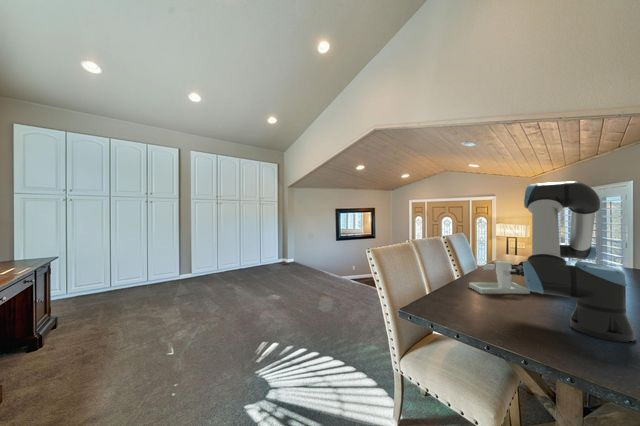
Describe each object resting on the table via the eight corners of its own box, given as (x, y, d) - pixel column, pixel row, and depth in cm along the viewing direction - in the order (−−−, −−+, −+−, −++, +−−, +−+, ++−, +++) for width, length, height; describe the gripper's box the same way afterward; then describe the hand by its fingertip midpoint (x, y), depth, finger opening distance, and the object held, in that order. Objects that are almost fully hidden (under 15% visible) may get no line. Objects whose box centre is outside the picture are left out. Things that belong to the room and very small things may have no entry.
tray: (482, 294, 129) (482, 289, 129) (469, 287, 141) (468, 282, 141) (530, 293, 128) (529, 288, 128) (512, 286, 140) (512, 282, 140)
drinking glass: (505, 292, 128) (503, 263, 128) (493, 289, 135) (492, 261, 135) (516, 291, 129) (514, 262, 130) (504, 288, 136) (502, 260, 136)
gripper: (553, 281, 124) (513, 283, 122) (510, 270, 148) (476, 271, 147) (553, 266, 124) (512, 267, 122) (510, 257, 148) (476, 258, 147)
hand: (493, 269), depth 134 cm, fingers open, 13 cm apart
